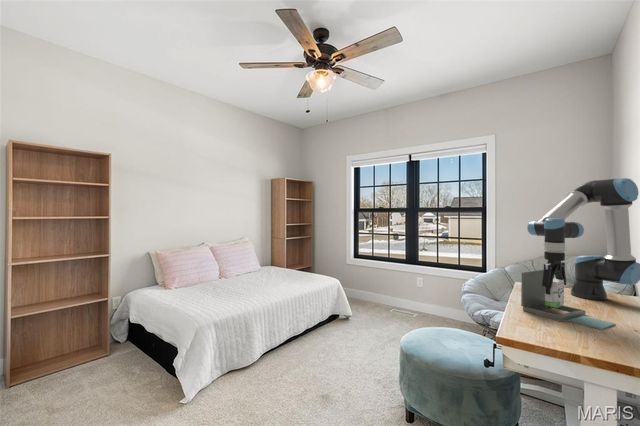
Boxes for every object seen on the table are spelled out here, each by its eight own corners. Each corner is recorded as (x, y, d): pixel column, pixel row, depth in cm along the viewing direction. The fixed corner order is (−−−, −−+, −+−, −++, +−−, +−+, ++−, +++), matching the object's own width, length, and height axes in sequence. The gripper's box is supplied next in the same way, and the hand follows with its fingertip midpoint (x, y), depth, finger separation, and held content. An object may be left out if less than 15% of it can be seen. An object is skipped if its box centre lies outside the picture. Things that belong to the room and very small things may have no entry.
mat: (582, 316, 133) (582, 315, 133) (615, 325, 124) (615, 323, 124) (569, 320, 128) (569, 319, 128) (602, 329, 118) (602, 328, 118)
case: (544, 304, 151) (544, 269, 151) (585, 314, 136) (586, 275, 136) (521, 310, 141) (521, 272, 141) (562, 321, 126) (563, 279, 126)
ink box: (557, 308, 134) (557, 282, 134) (544, 305, 138) (544, 280, 138) (564, 304, 139) (564, 279, 139) (551, 302, 143) (551, 277, 143)
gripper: (557, 249, 146) (557, 294, 147) (532, 252, 136) (532, 300, 137) (575, 250, 140) (575, 298, 140) (551, 254, 130) (551, 305, 130)
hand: (554, 299), depth 138 cm, fingers closed on ink box, 9 cm apart
